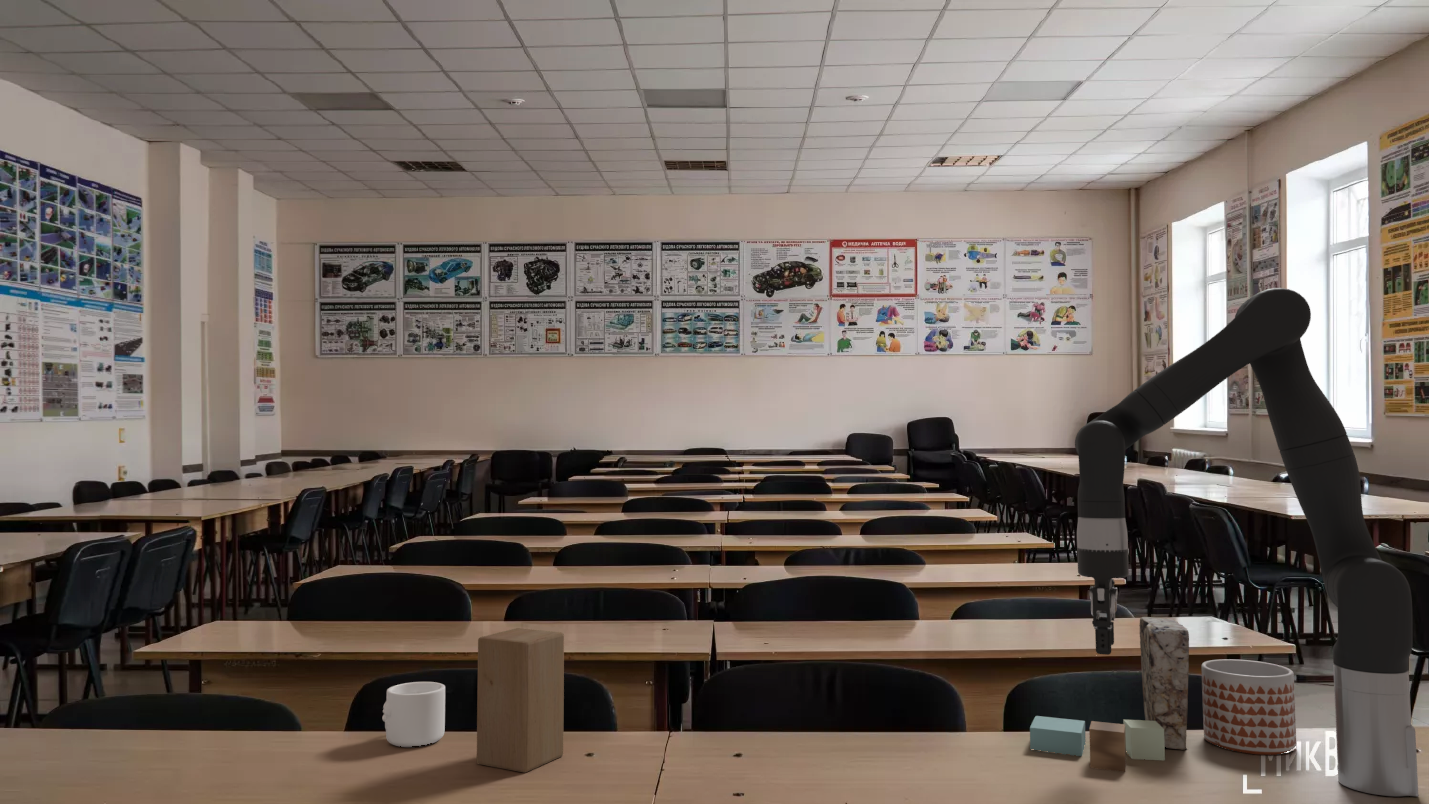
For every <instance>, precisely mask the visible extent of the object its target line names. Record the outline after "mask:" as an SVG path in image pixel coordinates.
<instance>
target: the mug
mask: <svg viewBox="0 0 1429 804" xmlns="http://www.w3.org/2000/svg"><path fill="white" fill-rule="evenodd" d="M382 709H383V710H382V713H383V715H382V721H383V722H384V728H385V738H386V740H387V742H388V743H390V745H393V746H395V747H400V746H401V747H402V748H413V747H412V746H419V747H422V746H421V745H425V746H428V745H427V744H429V745H431V744H430V743H432V744H434V743H436V742H438V741H440V740H441V739H442V738H443V737H444V735H445V728H446V727H445V726H446V685H445V684H443V683H440V682H436V681H435V682H434V681H413V682H412V681H411V682H405V683H400V684H399V683H398V684H397V685H392V686H390V687H389V688H387V689H386V700H385V702H384V704H383V707H382ZM401 747H400V748H401Z"/></svg>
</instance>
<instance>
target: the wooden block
mask: <svg viewBox="0 0 1429 804" xmlns="http://www.w3.org/2000/svg"><path fill="white" fill-rule="evenodd" d="M564 665H565V635H564V633H563V632H560V631H550V630H541V629H532V628H531V629H530V628H520V627H517V628H513V629H509V630H505V631H500V632H496V633H491V634H488V635H484V636H480V637H479V638H478V639H477V692H476V693H477V698H476V699H477V705H476V706H477V707H476V710H477V712H476V714H477V715H476V726H477V727H476V764H478V765H483V766H488V767H492V768H498V769H503V770H509V771H514V772H520V773H524V774H525V773H528V772H529V771H532V770H534V769H537V768H539V767H541V766H544V765H545V764H547V763H550V762H552V761H554V760H556V759H559V758H561V757H563V756H564V699H565V696H564V695H565V694H564V692H565V689H564V686H565V683H564V682H565V681H564V680H565V677H564V675H565V673H564V671H565V666H564Z"/></svg>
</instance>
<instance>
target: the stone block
mask: <svg viewBox="0 0 1429 804" xmlns="http://www.w3.org/2000/svg"><path fill="white" fill-rule="evenodd" d="M1139 646H1140V647H1139V648H1140V663H1141V665H1140V666H1141V679H1142V696H1143V710H1144V713H1143V714H1144V719H1145V720H1148V721H1156V722H1157V723H1158V724H1159V725H1160V726H1161V727H1162V728H1163V729H1164V745H1165V747H1166V748H1167V749H1174V750H1182V751H1185V749H1186V750H1188V749H1187V736H1188V735H1187V730H1188V729H1187V728H1188V727H1187V726H1188V725H1187V724H1188V705H1189V704H1188V703H1189V701H1188V699H1189V698H1188V696H1189V665H1190V663H1189V656H1190V634H1189V630H1188V628H1186V627H1185V626H1183V624H1180V623H1179V622H1178V621H1176V620H1174V619H1170V618H1162V617H1150V616H1142V617H1140V618H1139Z"/></svg>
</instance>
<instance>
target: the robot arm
mask: <svg viewBox="0 0 1429 804" xmlns="http://www.w3.org/2000/svg"><path fill="white" fill-rule="evenodd" d="M1311 317H1312V312H1311V307H1310V304H1309V302H1308V301H1307V300H1306V298H1305V297H1304V296H1302V295H1301V294H1300V293H1299V292H1297V291H1295V290H1292V289H1291V288H1285V287H1272V288H1268V289H1264V290H1262V291H1259V292H1258V293H1257V292H1256V294H1254V295H1252V296H1251V297H1250V298H1248V299H1246V300H1245V301H1244V302H1243V303H1242V304H1240V306H1239V307H1238V309H1237V311H1236V312H1235V315H1234V318H1233V319H1232V320H1231V321H1230V322H1228V324H1226V325H1225V326H1224V327H1223V328H1222V329H1220V331H1219V332H1217V333H1216V334H1214V336H1212V337H1211V338H1210V339H1209V340H1207V341H1205V342H1204V343H1202V344H1201V345H1200V346H1199V347H1197V348H1195V349H1194V350H1192V351H1191V352H1190V353H1188V354H1186V355H1185V356H1183V357H1181V358H1180V359H1178V360H1177V361H1175V362H1173V363H1171V364H1170V365H1169V366H1167V367H1166V368H1164V369H1162V370H1161V371H1160V372H1158V373H1157V374H1154V375H1153V376H1152V377H1150V378H1149V379H1148V380H1147V381H1145V382H1144V383H1142V384H1141V385H1140V386H1138V387H1137V388H1135V389H1134V390H1133V391H1131V392H1130V393H1129V394H1127V395H1126V396H1125V397H1124V398H1123V399H1122V400H1121V401H1120V402H1119V403H1117V404H1115V405H1114V406H1113V407H1111V408H1109V409H1108V410H1105V412H1103V413H1102V414H1100V415H1099V416H1097V417H1095V418H1094V419H1092V420H1091V421H1090V422H1088V423H1086V424H1085V425H1083V426H1082V427H1081V428H1080V429H1079V430H1078V432H1077V433H1076V435H1075V439H1074V449H1075V451H1076V453H1077V455H1078V469H1079V470H1078V471H1079V472H1078V473H1079V474H1078V475H1079V484H1078V487H1077V489H1078V490H1077V528H1076V546H1077V547H1076V548H1077V549H1076V550H1077V551H1076V552H1077V554H1076V555H1077V573H1078V574H1079V576H1082V577H1084V578H1085V577H1086V578H1092V579H1093V580H1094V586H1090V588H1089V599H1090V614H1091V616H1092V623H1091V624H1092V625H1093V630H1095V636H1094V637H1095V652H1096V653H1097V654H1098V655H1107V656H1109V655H1111V653H1112V646H1113V645H1114V644H1115V631H1114V629H1115V627H1114V624H1115V623H1114V621H1115V620H1116V612H1117V610H1118V609H1117V608H1118V605H1117V604H1118V601H1117V600H1118V595H1119V594H1118V593H1119V592H1118V587H1115V585H1116V584H1115V583H1116V582H1115V581H1114V580H1115V579H1123V578H1127V577H1128V576H1129V572H1130V571H1129V570H1130V569H1129V544H1128V543H1129V542H1128V541H1129V537H1128V527H1127V522H1126V521H1127V520H1126V506H1125V505H1126V504H1125V503H1126V500H1125V499H1126V498H1125V490H1124V479H1125V465H1126V450H1128V448H1130V447H1132V446H1133V445H1134V444H1136V442H1137V443H1138V441H1140V439H1142V438H1143V437H1144V436H1146V435H1149V434H1151V433H1154V432H1156V431H1157V430H1159V429H1160V428H1162V427H1163V426H1165V425H1167V424H1168V423H1169V422H1170V421H1172V420H1173V419H1175V418H1176V417H1178V416H1179V415H1180V414H1182V413H1183V412H1185V411H1186V410H1187V409H1188V408H1190V407H1191V406H1193V405H1194V404H1195V403H1197V402H1198V401H1199V400H1200V399H1202V398H1203V397H1204V396H1205V395H1206V394H1208V393H1209V392H1211V391H1212V390H1213V389H1215V388H1216V387H1217V386H1219V384H1221V383H1223V381H1225V380H1227V378H1229V377H1231V376H1232V375H1234V374H1235V373H1237V372H1238V371H1240V370H1241V369H1244V367H1246V366H1247V365H1250V367H1251V369H1252V371H1253V373H1254V375H1255V377H1256V379H1257V382H1258V385H1259V388H1260V390H1261V394H1262V397H1263V400H1264V404H1265V405H1264V406H1265V407H1266V411H1267V415H1268V418H1269V423H1270V425H1271V428H1272V430H1273V431H1272V432H1273V434H1274V438H1275V442H1276V444H1277V448H1278V451H1279V454H1280V456H1281V460H1282V462H1283V465H1284V468H1285V471H1286V474H1287V475H1288V478H1289V481H1290V484H1291V486H1292V489H1293V491H1294V493H1295V496H1296V498H1297V501H1298V504H1299V505H1300V508H1301V510H1302V512H1303V515H1304V516H1305V519H1306V521H1307V523H1308V525H1309V526H1308V527H1310V528H1309V529H1310V531H1311V534H1312V537H1313V541H1314V545H1315V549H1316V553H1317V557H1318V561H1319V566H1320V571H1321V576H1322V580H1323V586H1324V588H1325V592H1326V594H1327V596H1328V598H1329V600H1330V601H1331V602H1332V603H1333V605H1334V606H1335V607H1336V608H1337V639H1336V642H1335V643H1334V645H1332V646H1333V647H1332V659H1333V660H1332V661H1333V662H1332V663H1333V664H1332V667H1333V668H1332V670H1333V689H1334V691H1333V693H1334V710H1335V713H1334V714H1335V734H1336V757H1337V764H1336V765H1337V767H1336V768H1337V778H1338V782H1339V783H1340V784H1341V785H1343V786H1344V787H1347V788H1349V789H1351V790H1354V791H1359V792H1361V793H1366V794H1370V795H1371V794H1372V795H1379V796H1386V797H1409V796H1410V797H1419V780H1418V779H1419V778H1418V761H1417V759H1418V756H1417V738H1416V737H1417V736H1416V728H1415V727H1414V726H1413V724H1412V712H1411V693H1410V692H1411V691H1410V674H1409V673H1410V671H1409V662H1410V661H1409V660H1410V656H1411V654H1412V651H1413V633H1414V632H1413V601H1412V600H1413V599H1412V591H1411V586H1410V584H1409V581H1408V580H1407V578H1406V576H1405V575H1404V574H1403V573H1402V571H1400V570H1399V569H1398V568H1397V567H1396V566H1394V565H1392V564H1391V563H1388V562H1386V561H1385V560H1384V561H1383V560H1382V558H1381V556H1380V554H1379V552H1378V551H1377V548H1376V546H1375V543H1374V541H1373V539H1372V536H1371V534H1370V532H1369V530H1368V527H1367V524H1366V521H1365V517H1364V512H1363V503H1362V502H1363V501H1362V487H1361V478H1360V477H1361V476H1360V470H1359V467H1358V466H1359V465H1358V461H1357V458H1356V456H1355V453H1354V450H1353V447H1352V444H1351V442H1350V438H1349V436H1348V434H1347V433H1348V432H1347V431H1346V428H1345V426H1344V423H1343V422H1342V420H1341V418H1340V416H1339V414H1338V413H1337V411H1336V410H1335V408H1334V406H1333V405H1332V404H1331V402H1330V400H1329V399H1328V398H1327V396H1326V395H1325V393H1324V392H1323V390H1322V389H1321V388H1320V387H1319V385H1318V384H1317V382H1316V380H1315V378H1314V377H1313V374H1312V373H1311V371H1310V368H1309V365H1308V361H1307V359H1306V356H1305V352H1304V348H1303V345H1302V341H1301V338H1302V337H1303V336H1304V335H1305V334H1306V332H1307V330H1308V329H1309V326H1310V323H1311V321H1312V320H1311V319H1312V318H1311Z"/></svg>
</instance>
